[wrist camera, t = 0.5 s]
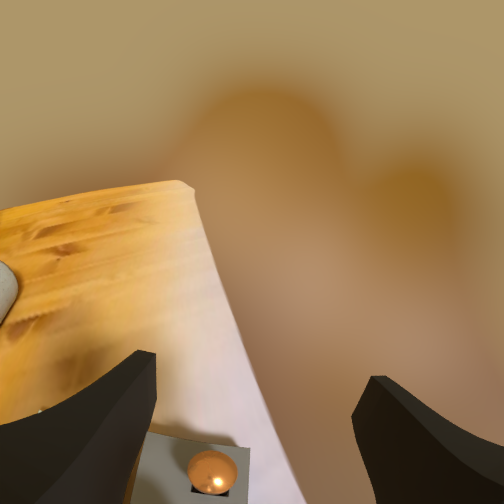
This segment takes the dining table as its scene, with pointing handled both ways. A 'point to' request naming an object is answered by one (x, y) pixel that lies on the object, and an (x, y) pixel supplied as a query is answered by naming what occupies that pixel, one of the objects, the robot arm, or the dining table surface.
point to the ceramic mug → (7, 289)
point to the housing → (183, 472)
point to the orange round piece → (212, 472)
